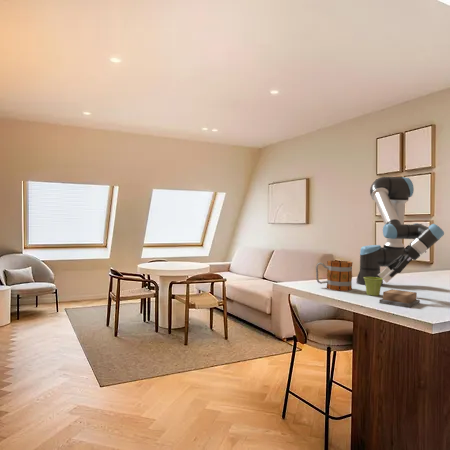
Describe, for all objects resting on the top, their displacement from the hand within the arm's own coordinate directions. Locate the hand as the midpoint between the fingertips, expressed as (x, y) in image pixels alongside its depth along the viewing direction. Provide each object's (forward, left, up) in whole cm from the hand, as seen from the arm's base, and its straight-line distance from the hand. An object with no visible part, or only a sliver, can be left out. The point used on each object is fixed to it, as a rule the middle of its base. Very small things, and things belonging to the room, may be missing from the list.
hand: (382, 278), depth 195 cm
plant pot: (-4, -1, -9) cm, 10 cm away
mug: (-27, +1, -9) cm, 29 cm away
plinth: (+13, -12, -9) cm, 19 cm away
